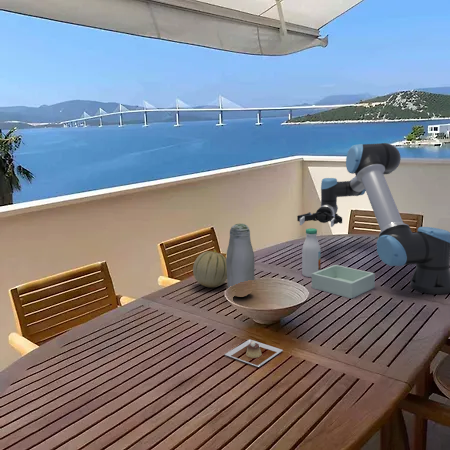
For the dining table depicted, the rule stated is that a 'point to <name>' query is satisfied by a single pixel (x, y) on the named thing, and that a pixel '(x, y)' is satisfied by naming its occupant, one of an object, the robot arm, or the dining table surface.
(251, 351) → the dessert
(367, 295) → the dining table surface
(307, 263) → the milk bottle
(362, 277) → the tote
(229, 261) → the glass bottle
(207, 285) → the cantaloupe
